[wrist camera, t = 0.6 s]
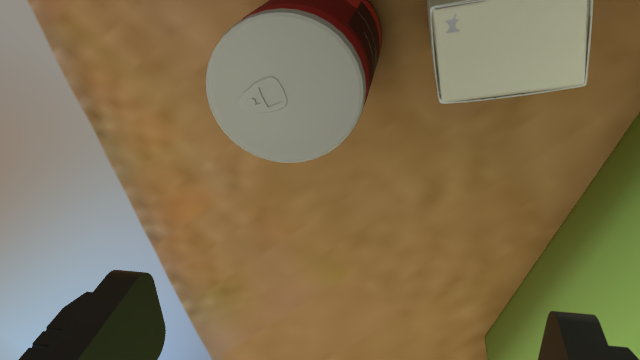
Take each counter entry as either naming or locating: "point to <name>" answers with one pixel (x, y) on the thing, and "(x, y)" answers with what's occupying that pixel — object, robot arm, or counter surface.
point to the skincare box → (508, 47)
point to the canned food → (294, 76)
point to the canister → (584, 265)
